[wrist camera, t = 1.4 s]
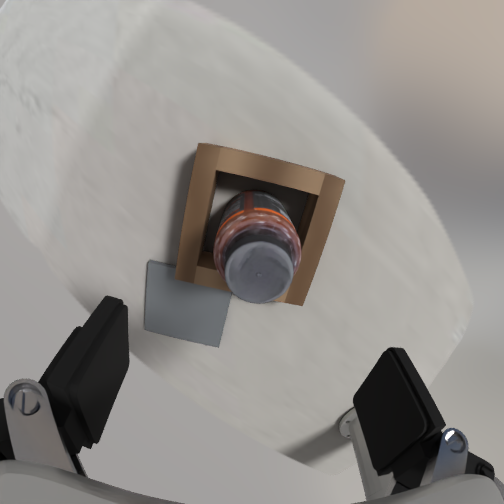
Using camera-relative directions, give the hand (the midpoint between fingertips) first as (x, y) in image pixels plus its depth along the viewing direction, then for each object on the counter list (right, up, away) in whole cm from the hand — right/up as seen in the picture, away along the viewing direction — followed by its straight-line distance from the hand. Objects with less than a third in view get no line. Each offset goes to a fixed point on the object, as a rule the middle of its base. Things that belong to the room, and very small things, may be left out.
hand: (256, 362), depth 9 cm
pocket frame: (0, +7, +17) cm, 19 cm away
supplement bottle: (0, +7, +18) cm, 19 cm away
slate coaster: (-7, -2, +21) cm, 22 cm away
